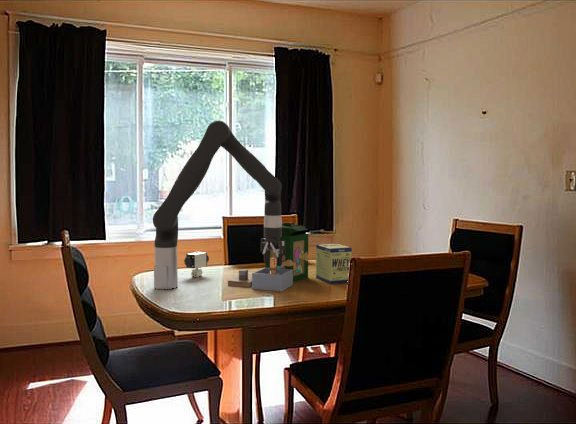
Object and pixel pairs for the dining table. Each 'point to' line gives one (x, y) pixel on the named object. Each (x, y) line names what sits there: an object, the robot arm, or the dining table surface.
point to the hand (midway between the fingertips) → (272, 264)
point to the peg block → (273, 266)
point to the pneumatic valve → (196, 262)
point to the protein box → (333, 262)
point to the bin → (272, 279)
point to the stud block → (241, 279)
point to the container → (294, 251)
